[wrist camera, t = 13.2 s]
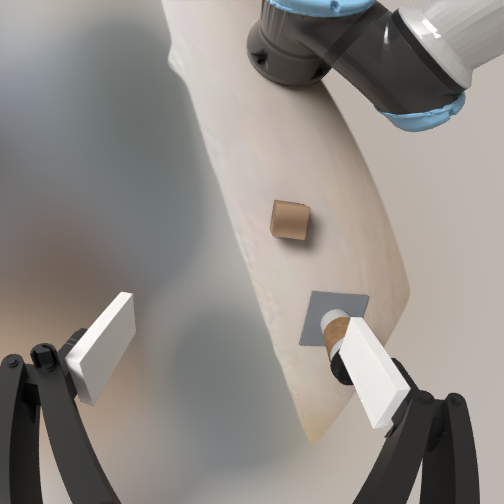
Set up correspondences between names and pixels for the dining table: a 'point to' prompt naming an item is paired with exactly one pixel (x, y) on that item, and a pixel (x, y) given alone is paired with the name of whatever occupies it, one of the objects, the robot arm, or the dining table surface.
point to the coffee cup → (336, 342)
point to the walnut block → (289, 220)
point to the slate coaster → (324, 304)
